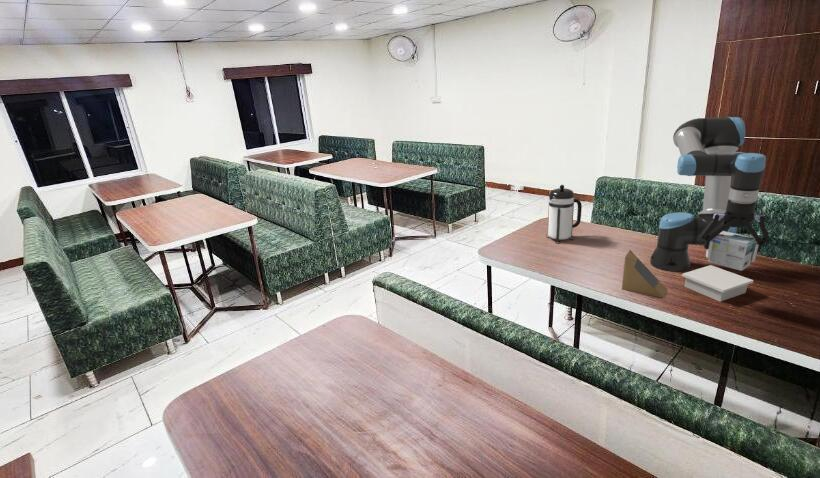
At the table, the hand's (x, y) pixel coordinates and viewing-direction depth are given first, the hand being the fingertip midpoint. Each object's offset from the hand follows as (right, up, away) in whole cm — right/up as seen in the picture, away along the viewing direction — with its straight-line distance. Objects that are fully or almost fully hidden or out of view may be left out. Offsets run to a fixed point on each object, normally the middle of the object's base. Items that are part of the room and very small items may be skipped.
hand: (729, 258), depth 145 cm
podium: (+6, -13, +15) cm, 20 cm away
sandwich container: (-19, -14, +20) cm, 31 cm away
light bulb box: (0, -2, +1) cm, 2 cm away
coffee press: (-31, +7, +78) cm, 84 cm away
